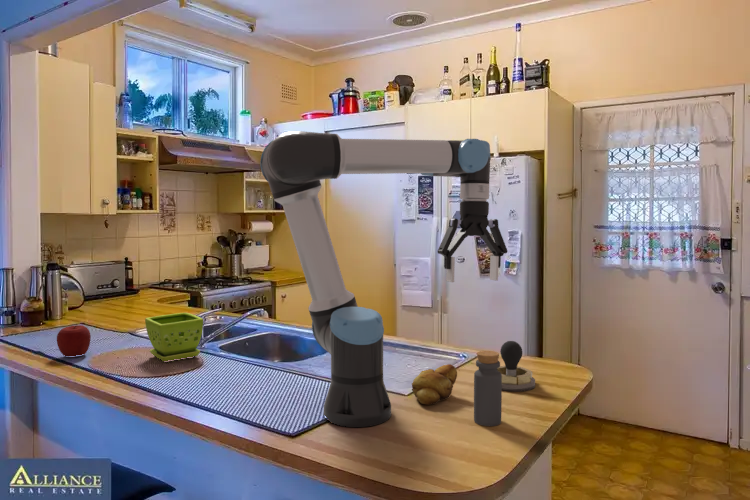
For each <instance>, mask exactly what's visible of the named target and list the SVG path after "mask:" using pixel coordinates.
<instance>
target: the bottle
mask: <svg viewBox="0 0 750 500" xmlns="http://www.w3.org/2000/svg"><path fill="white" fill-rule="evenodd" d="M476 356H477V360H476V361H475V366H476V367H477V368H478V369H477V370H475V371H474V374H473V421H474V423H475V424H477V425H479V426H483V427H496V426H499V425H501V424H502V405H503V404H502V402H503V401H502V400H503V399H502V397H503V393H502V391H503V390H502V374H501V373H500V372H499V371H497V368H499V367H500V366H501V361H499V359H500V358H499V357H500V353H499V352H497V351H494V350H479V351H477V352H476Z"/></svg>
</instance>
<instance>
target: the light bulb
mask: <svg viewBox="0 0 750 500" xmlns="http://www.w3.org/2000/svg"><path fill="white" fill-rule="evenodd" d="M521 346H522V345H520V344H519V343H518V342H516V341H514V340H507V341H506V342H503V344H502V345H501V347H500V353H499V354H500V356H501V359H502V360H503V363H504V366H505V367H506V375H512V376H516V369H517V367H518V365H519V362H520V361H521V360H522V357H523V349H522V347H521Z"/></svg>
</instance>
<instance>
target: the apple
mask: <svg viewBox="0 0 750 500" xmlns="http://www.w3.org/2000/svg"><path fill="white" fill-rule="evenodd" d="M91 336H92V335H91V332H90V329H89V328H88V327H86V326H85V325H80V324H79V325H77V324H76V325H69V326H65V327H63V328H61V329H59V331H58V332H57V335H56V343H57V347H58V350H59V351H60V354H62V355H63V356H64V355H65V356H76V355H82V354H84V355H85V354H86V353H87V352H88V350H89V347H90V345H91ZM65 356H64V357H65Z"/></svg>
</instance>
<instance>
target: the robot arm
mask: <svg viewBox="0 0 750 500" xmlns="http://www.w3.org/2000/svg"><path fill="white" fill-rule="evenodd" d="M259 165H260V169H261V174H262V176H263V177H264V179H265V180H266V182H267V183H268V186H269V189H270V193H271V194H272V198H273V201H274V202H276V203H277V204H279V205H281V206H282V207H283V211H284V214H285V217H286V221H287V223H288V227H289V230H290V233H291V234H290V235H291V236H292V240H293V243H294V245H295V248H296V253H297V256H298V260H299V262H300V266H301V269H302V271H303V272H302V273H303V275H304V278H305V281H306V284H307V288H308V291H309V294H310V297H311V302H310V304H309V306H308V312H309V315H310V318H311V331H312V336H313V338H314V339H315V341H316V343H317V344H318V345H319V346H320V347H321V348H322V349H323V350H325V351H326V352H328V354H329V355H330V379H331V380H330V384H329V388H328V391H327V394H326V398H325V401H324V404H323V416H324V415H325V416H326V417H327V418H328V419H329V421H330V422H332V423H334V424H333V425H335V424H337V426H339V425H340V427H345V426H346V427H345V428H365V427H372V426H376V425H380V424H383V423H385V422H387V421H388V420H389V419H390V418H391V417H392V404H391V400H390V398H389V397H390V396H389V393H388V391H387V387H386V384H385V382H384V334H385V333H384V332H385V328H384V321H383V317H382V315H381V314H380V312H378V311H377V310H374V309H373V308H366V307H364V306H358V304H357V299H356V297H355V293H353V292H352V291H349V290H348V289H347V288H346V285H345V282H344V279H343V275H342V272H341V268H340V265H339V262H338V259H337V255H336V252H335V248H334V246H333V242H332V239H331V236H330V232H329V229H328V226H327V225H328V224H327V222H326V219H325V216H324V212H323V209H322V205H321V201H320V200H319V199H320V198H319V196H318V195H319V193H320V191H321V189H322V184H321V180H333V179H334V180H335V179H336V180H337V179H338V178H339V177H340V176H342V175H369V174H372V175H373V174H374V175H375V174H376V175H379V174H381V175H382V174H383V175H384V174H391V175H392V174H420V175H421V176H429V177H431V178H432V177H433V178H434V177H443V178H445V177H446V178H447V177H448V178H449V177H450V178H452V177H454V178H455V177H456V178H459V179H460V186H459V187H460V189H459V190H460V191H459V198H460V199H461V200H462V201H460V202H459V215H460V217H459V218H460V219H458V218H449V220H448V227H447V230H446V231H445V234H444V236H443V238H442V239H441V240H442V241H441V243H440V245H439V247H438V248H437V254H439V255H442V256H443V258H444V259H443V261H444V262H443V267H444V269H445V270H446V274H445V275H446V276H445V277H446V279H445V281H446V282H449V283H454V282H455V267H456V266H455V261H456V260H455V259H456V257H455V256H453V255H454V254H455V252H456V251H457V250H458V248H459V247H460V245H461V244H462V243H463V242H464V241H465V239H466V238H467V237H468V236H470V237H479V238H481V239H482V240H483V242H484V243H485V245H486V246H487V248H488V249H489V250H490V251H491V254H492V255H490V257H489V258H490V259H489V261H490V262H489V280H490V281H499V268H501V262H502V261H501V259H502V257H503V256H504V254H507V253H508V248H507V245H506V243H505V241H504V238H503V235H502V233H501V230H500V227H499V220H498V219H497V218H490V219H489V218H488V217H489V214H490V213H489V212H490V211H489V210H490V203H489V201H487V200H489V198H490V178H491V177H490V176H491V175H490V172H491V146H490V143H489V142H488V141H487V140H482V139H478V138H466V139H463V140H462V139H461V140H454V139H453V140H449V139H448V140H445V139H397V138H396V139H392V138H391V139H387V138H378V139H377V138H342V137H341V136H340V135H339V134H338V133H326V132H324V133H323V132H314V131H313V132H311V131H305V130H304V131H302V130H301V131H300V130H292V131H286V132H283V133H282V134H280V135H278V136H277V137H276V138H275V139H273V140H271V141H269V143H268V144H266V145H265V147H264V149H263V151H262V153H261V155H260V164H259ZM459 226H460V229H459V230H458V227H459ZM488 227H489V231H488ZM457 230H458V232H457ZM456 232H457V234H456ZM455 234H456V235H455ZM454 236H455V237H454ZM330 422H329V423H330ZM332 423H331V424H332Z"/></svg>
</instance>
